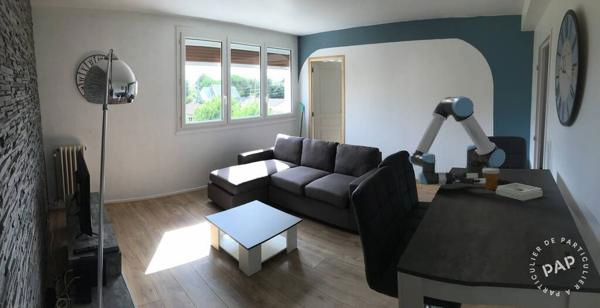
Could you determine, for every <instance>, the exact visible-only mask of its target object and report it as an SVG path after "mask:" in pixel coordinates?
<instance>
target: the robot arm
mask: <svg viewBox="0 0 600 308" xmlns="http://www.w3.org/2000/svg"><path fill="white" fill-rule="evenodd" d="M474 107H475V106H474V102H473V100H472V99H470V98H469V97H467V96H447V97H445V98H442V99H441V101H440V102H439V103H438V104H437V105H436V107H435V108H434V110H433V112H432V117H431V120H430V121H429V123H428V125H427V128H426V129H425V131H424V134H423V135H422V137H421V139H420V141H419V143H418V145H417V146H416V149H415V151H414V152H412V153H410V154H409V156H408V161H409V163H410V164H411V165H414V166H418V167H421V168H422V169H421V172H419V173H418V179H417V180H418V183H419V184H420V185H424V186H425V185H426V186H432V185H435V186H437V185H438V186H441V185H447V186H448V185H452V184H453V183H456V184H467V185H475V184H484V183H486V179H483V172H482V170H483V168H487V167H486V166H488V167H490V168H499V167H500V166H501V165H503V164H504V163H505V160H506V152H505V151H504V149H501V148H498V146H497V145H496V144H495V143H494V142H492V141H490V138H489V137H488V136H487V135H486V133H485V131H484V129H483V128H482V127H481V125H480V124H479V122H478V120H477V119H476V117H475V116H474V113H475V111H474ZM450 116H452V117H453V119H454V120H455V122H457V123H460V124H461V126H462V127H463V129H464V131H465V132H466V134H467V135H468V136H469V138H470V141H472V143H473V144H469V145H467V149H466V166H465V169H464V172H460V173H452V172H451V171H450V172H449V171H447V172H444V171H443V172H436V154H434V153H430V152H429V151H430V149H431V147H432V145H434V142H435V140H436V138H437V136H438V134H439V132H440V130H441V128H442V127H443V124H444V122H445V121H447V120H448V118H449V117H450Z"/></svg>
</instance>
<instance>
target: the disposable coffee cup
mask: <svg viewBox="0 0 600 308" xmlns="http://www.w3.org/2000/svg"><path fill="white" fill-rule="evenodd" d="M482 172H483V179H486V183H483V187H484V189H486V190H496V189H497V187H498V181H499V180H498V179H499V175H500V172H501V171H500V169H499V168H498V167H486V168H483V170H482Z"/></svg>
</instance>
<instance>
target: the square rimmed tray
mask: <svg viewBox="0 0 600 308" xmlns="http://www.w3.org/2000/svg"><path fill="white" fill-rule="evenodd" d="M543 192H544V191H543V190H542V188H541V187H536V186H533V185H527V184H523V183H518V182H513V183H512V182H511V183H508V184H503V185H497V186H496V189H495V194H496V195H499V196H502V197H503V196H504V197H507V198H511V199H515V200H519V201H522V202H523V201H528V200H532V199H537V198H539V197H540V198H541V197H543Z"/></svg>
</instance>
